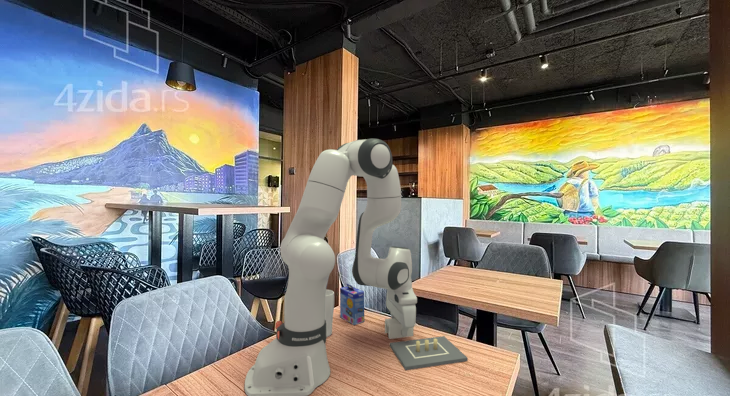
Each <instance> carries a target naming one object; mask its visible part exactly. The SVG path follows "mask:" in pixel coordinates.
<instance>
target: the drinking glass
mask: <svg viewBox="0 0 730 396" xmlns="http://www.w3.org/2000/svg"><path fill="white" fill-rule="evenodd" d="M334 309H335V292H334V291H333V290H332V289H326V293H325V320H326V325H327V337H330V336H332V333H333V321H334Z"/></svg>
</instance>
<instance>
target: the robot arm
mask: <svg viewBox="0 0 730 396" xmlns="http://www.w3.org/2000/svg"><path fill="white" fill-rule="evenodd" d="M392 154H393V153H392V151H391V149H390V146H389V145H388V144H387V143H386V141H384V140H382V139H379V138H367V139H356V140H353V141H351V142H345V143H343V144H341V145H340V146H339V147H338V148H337V149H332V148H331V149H325V150H323V151H322V152H320V154H319V155H318V157H317V159H316V160H315V162H314V164H313V167H312V169H311V171H310V174H309V176H308V178H307V181H306V185H305V187H304V191H303V194H302V196H301V200H300V203H299V205H298V208H297V211H296V213H295V215H294V217H293V218H292V221H291V222H290V225H289V226H288V229H287V231H286V233H285V236H284V238H283V239H282V240H281V243H280V249H279V250H280V256H281V260H282V261H283V263H284V264H286V265H287V268H288V281H287V286H286V292H285V294H284V296H283V297H284V299H283V300H284V305H283V308H284V309H283V311H284V312H283V313H284V314H283V315H284V317H283V318H284V319H283V321H282V320H278V321H276V323H275V327H274V328H275V330H276V331H275V332H276V334H275V335H276V338H274V339H273V340H271V341H270V342H269V343H268V344H267V345H265V346H264V347H262V349H261V350H260V351H259V353H258V354H257V357H256V360H255V362H254V364H253V365H252V366H251V367H250V368H249V370H248V371H247V373H246V376H245V379H244V387H243V388H244V392H245V394H246V395H247V396H310V395H311V394H312V393H313V392H314V391H315V389H316V388H317V387H319V386H321V385H322V384H324V383H325V382H326V381H327V380H328V379H329V377H330V375H331V367H330V364H329V360H328V354H327V346H326V343H327V325H326V320H325V293H326V290H327V287H328V282H329V277H330V274H331V273H332V271H333V269H334V268H335V264H336V255H335V252H334V250H333V248H332V247H331V245H330V244H329V243H328V242H327V241H326V240H325V237H326V235H327V233H328V231H329V230H330V228H331V226H332V225H333V224H334V223H335V222H336V220H337V219H338V217H339V216H338V215H339V213H340V209H341V206H342V202H343V200H344V196H345V193H346V190H347V185H348V182H349V180H350V179H351V177H352V176H356V177H363V179H364V180H365V184H366V187H367V188H366V197H367V198H366V207H365V209H364V211H363V212H362V213H361V214H360V216H359V219H358V220H359V221H358V223H357V224H358V225H357V234H356V243H355V253H354V259H353V263H352V268H351V275H352V278H353V279H354V281H355V282H356V284H357V285H359V286H366V287H367V286H368V287H374V288H377V289H378V288H379V289H384V290H386V300H385V306H386V309H388V311H389V313H390V316H391V317H390V318H396V319H397V320H398V321H399V322H400V323H401V325H402V330H401V335H402V336H403V337H402V338H407V337H406V336H407V331H408V329H409V328H413V327H415V326H416V321H417V320H416V318H417V317H416V316H417V307H416V304H417V303H418V297H417V295H416V294H415V291H414V289H413V280H412V273H413V262H412V261H413V260H412V253H411V252H412V251H411V249H409V248H408V247H406V246H405V247H404V246H403V247H402V246H395V245H393V246H390V247H389V250H388V254H387V256H386V257H385V258H380V257H379V258H378V257H374V256H373V255H372V254H371V251H372V242H373V234H374V232H375V231H376V229H377V228H379V227H381V226H384V225H387V224H389V223H391V222H393V221H394V220H396V218H398V217H399V215H400V213H401V211H402V189H401V181H400V176H399V172H398V169H397V166H395V165H394V164H393V163H394V162H393V161H394V160H393V155H392Z"/></svg>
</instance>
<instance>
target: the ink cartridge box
mask: <svg viewBox="0 0 730 396" xmlns="http://www.w3.org/2000/svg"><path fill="white" fill-rule="evenodd" d="M345 284H346V286H342V287H340V288H339V304H340V305H339V311H340V312H339V313H340V314H339V315H340V318H342V319H343V320H345V321H347V322H348V323H349V324H351V325H353V326H356V325H358V324H361V323H364V322H365V290H362V289H360V288H356V287H355V286H353V285H351V284H350V283H345Z"/></svg>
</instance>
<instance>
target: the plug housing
mask: <svg viewBox="0 0 730 396" xmlns="http://www.w3.org/2000/svg"><path fill="white" fill-rule="evenodd" d="M414 327H415V326H414ZM414 327H413V328H409V329H408V331H407V336H406V337H405V338H409V337H413V336H414ZM401 330H402V325H401V323H400V322H399V321H398V320H397V319H396V318H391V317H390V318H385V319H384V334H386V333H387V334H388V339H389V340H392V339H401V338H404V337H403V336H402V335H401Z"/></svg>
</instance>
